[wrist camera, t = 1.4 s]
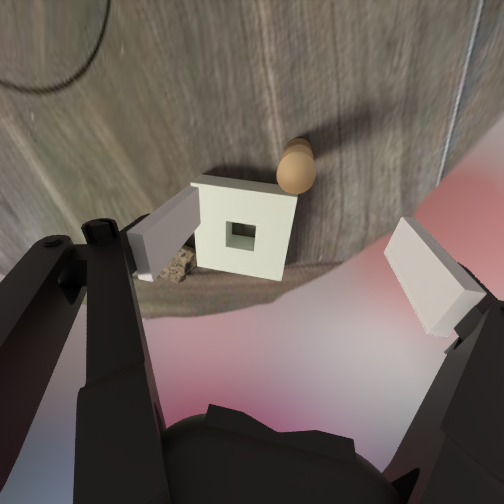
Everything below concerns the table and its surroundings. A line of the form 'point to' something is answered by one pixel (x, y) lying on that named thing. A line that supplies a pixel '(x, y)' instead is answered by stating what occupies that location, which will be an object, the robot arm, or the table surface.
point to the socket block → (246, 212)
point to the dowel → (296, 167)
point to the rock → (180, 265)
